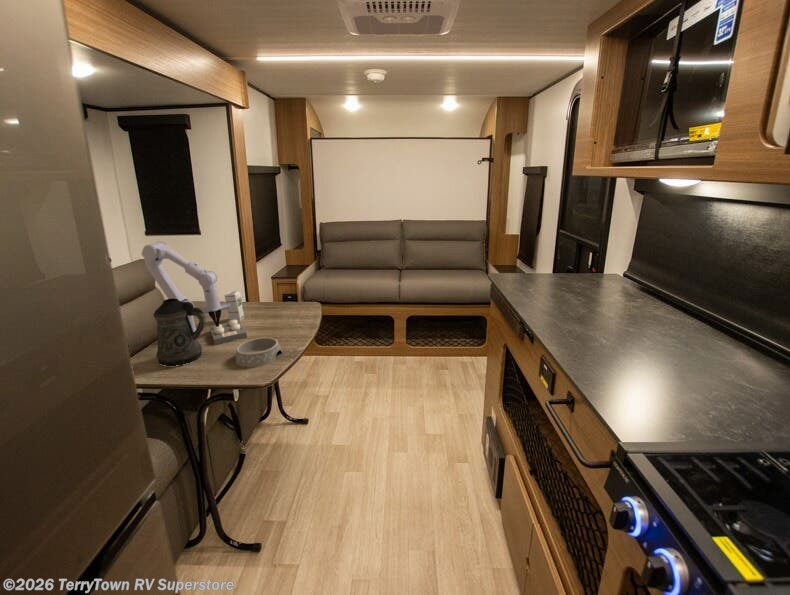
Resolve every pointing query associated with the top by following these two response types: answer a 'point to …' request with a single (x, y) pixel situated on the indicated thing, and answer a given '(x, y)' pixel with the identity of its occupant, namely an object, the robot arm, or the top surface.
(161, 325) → the beer stein
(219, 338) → the button board
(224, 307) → the robot arm
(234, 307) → the syrup box
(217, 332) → the button front left
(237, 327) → the button front right
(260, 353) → the dog bowl
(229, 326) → the button back right
